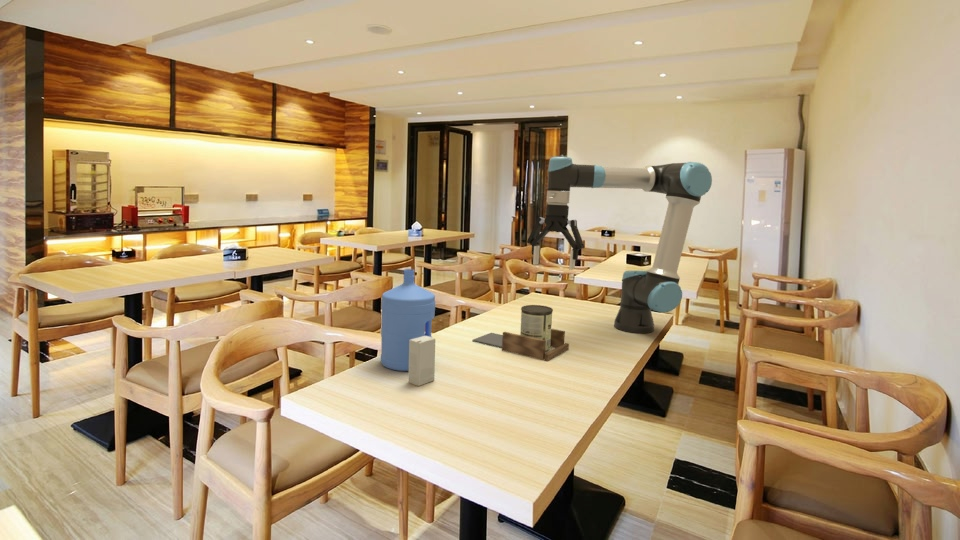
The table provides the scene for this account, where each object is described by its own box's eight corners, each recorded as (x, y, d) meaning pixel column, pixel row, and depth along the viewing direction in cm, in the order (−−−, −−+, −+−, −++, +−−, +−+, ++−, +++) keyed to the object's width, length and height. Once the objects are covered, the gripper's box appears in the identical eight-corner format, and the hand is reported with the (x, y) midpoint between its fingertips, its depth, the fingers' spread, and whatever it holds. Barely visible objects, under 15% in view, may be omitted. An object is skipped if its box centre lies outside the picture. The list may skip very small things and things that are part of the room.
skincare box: (423, 376, 144) (424, 334, 143) (435, 381, 142) (436, 338, 140) (407, 382, 140) (407, 338, 138) (418, 387, 137) (419, 342, 135)
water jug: (390, 375, 145) (391, 275, 140) (374, 358, 158) (374, 266, 154) (442, 368, 152) (444, 273, 148) (422, 352, 166) (424, 265, 161)
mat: (519, 340, 183) (520, 338, 183) (502, 348, 173) (502, 346, 173) (491, 334, 189) (491, 332, 189) (472, 341, 180) (472, 339, 180)
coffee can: (519, 344, 179) (521, 303, 176) (549, 346, 178) (552, 305, 176) (518, 353, 169) (520, 310, 166) (550, 355, 168) (553, 312, 165)
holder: (568, 349, 175) (569, 332, 174) (547, 361, 162) (549, 342, 161) (524, 339, 184) (525, 323, 183) (501, 350, 171) (502, 332, 170)
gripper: (519, 202, 178) (516, 263, 182) (588, 206, 165) (583, 272, 168) (530, 202, 185) (526, 261, 188) (597, 206, 171) (592, 270, 174)
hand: (553, 266), depth 178 cm, fingers open, 13 cm apart
